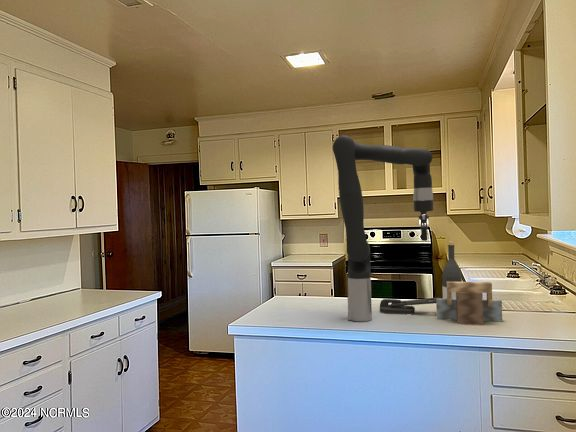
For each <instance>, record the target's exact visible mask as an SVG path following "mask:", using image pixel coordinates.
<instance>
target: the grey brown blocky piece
mask: <svg viewBox="0 0 576 432" xmlns="http://www.w3.org/2000/svg"><path fill="white" fill-rule="evenodd" d="M435 298H436V303H435V304H436V320H445V319H454V320H453V321H457V325H475V324H480V325H479V326H483V325H484V322H496V321H502V322H503V300H501V299H492V306H488V305H487V299H484V297H483V293H475V292H456V299H452V305H448V304H447V299H443V298H441V297H438V298H437V297H435Z"/></svg>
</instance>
